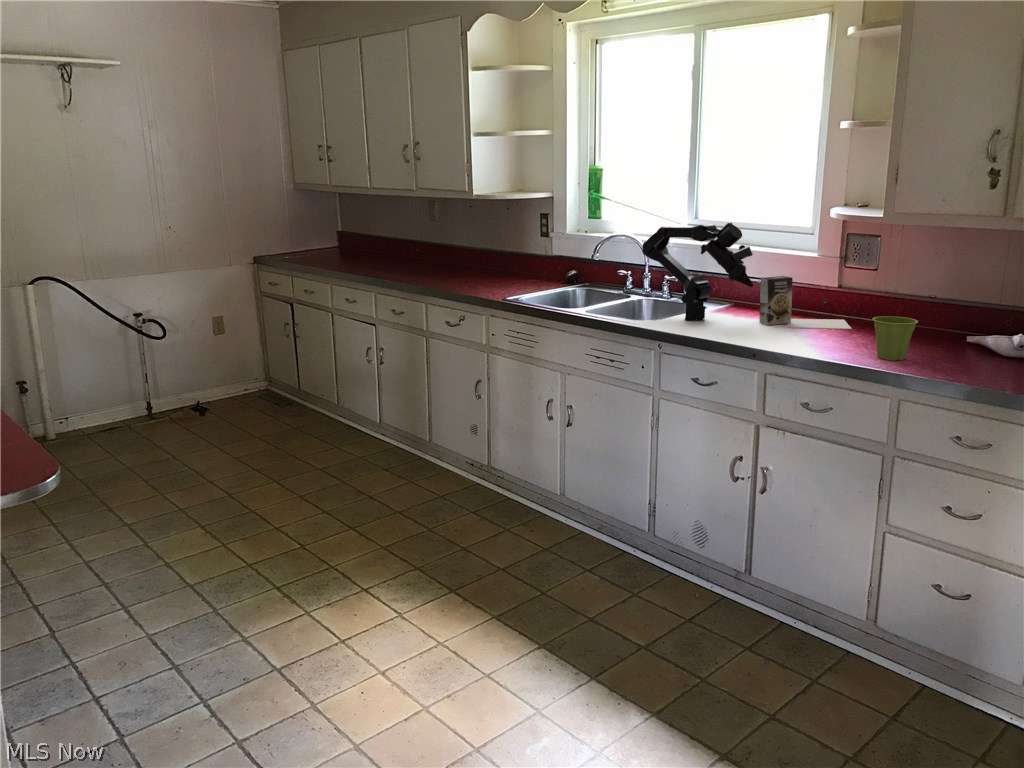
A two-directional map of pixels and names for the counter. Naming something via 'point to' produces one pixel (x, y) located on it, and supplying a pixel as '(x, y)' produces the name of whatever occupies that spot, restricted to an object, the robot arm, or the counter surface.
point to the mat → (819, 324)
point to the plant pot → (893, 336)
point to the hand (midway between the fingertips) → (752, 286)
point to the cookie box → (775, 300)
